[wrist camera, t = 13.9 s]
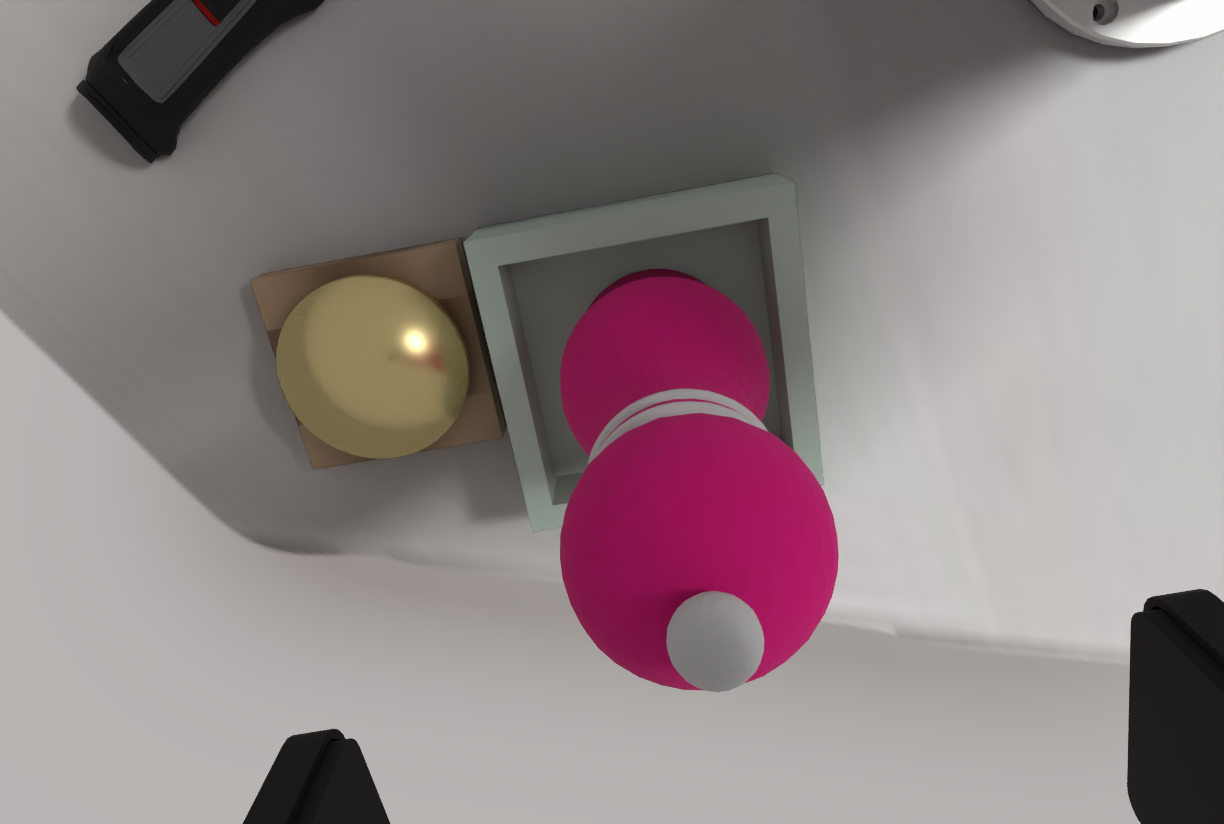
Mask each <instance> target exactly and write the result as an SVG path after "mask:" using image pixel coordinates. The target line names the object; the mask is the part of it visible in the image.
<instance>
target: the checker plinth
mask: <svg viewBox="0 0 1224 824" xmlns="http://www.w3.org/2000/svg"><path fill="white" fill-rule="evenodd" d="M361 273H377V274H384V275H390V276H393V277H397V278H401V279H403V280H406V281H408V282H411V283H413V284H415V285H417V286H418V287H420V288H422V289H424V290H425V291H427V292H428V293H429V294H431V295H432V296H433V297H435V298H436V299H437V300H438V301H439V302H440V303H441V304H442V305H443V306H444V307H445V308H446V309H447V310H448V312H449V313H450V314H451V315H452V316H453V318H454V319H455V321H456V323H457V324H458V326H459V328H460V330H461V332H462V334H463V336H464V338H465V341H466V344H467V348H468V352H469V357H470V368H471V375H470V385H469V389H468V393H467V396H466V399H465V401H464V404H463V406H462V408H461V410H460V412H459V414H458V416H457V418H456V419H455V421H454V423H453V424H452V425H451V426H450V428H449V429H448V430H447V431H446V432H445V433H444V434H443V435H442V436H441V437H440V438H439V439H438V440H436V441H435V442H434V443H432V444H431V445H429V446H428V447H426V448H424V449H422V450H420V451H418V452H422V451H428V450H433V449H439V448H445V447H451V446H457V445H463V444H469V443H475V442H481V441H487V440H493V439H499V438H503V435H504V432H505V428H506V425H505V421H504V417H503V413H502V408H501V404H500V400H499V396H498V392H497V388H496V383H495V379H494V375H493V371H492V367H491V363H490V358H489V354H488V350H487V346H486V342H485V338H484V333H483V329H482V325H481V321H480V317H479V313H478V308H477V304H476V300H475V296H474V292H473V288H472V283H471V279H470V275H469V271H468V267H467V263H466V259H465V254H464V250H463V246H462V242H461V238H457V239H452V240H446V241H441V242H435V243H430V244H424V245H419V246H413V247H408V248H402V249H397V250H391V251H386V252H380V253H375V254H369V255H364V256H358V257H353V258H348V259H342V260H337V261H331V262H326V263H320V264H315V265H309V266H304V267H298V268H293V269H287V270H282V271H276V272H271V273H265V274H261V275H259V276H257V277H255V278H253V279H252V280H250V283H251V286H252V289H253V292H254V295H255V298H256V301H257V304H258V307H259V310H260V313H261V316H262V319H263V322H264V325H265V328H266V331H267V334H268V337H269V340H270V343H271V346H272V349H273V352H274V354H275V357H276V352H277V345H278V340H279V336H280V333H281V330H282V328H283V326H284V324H285V321H286V319H287V318H288V316H289V315H290V313H291V312H292V310H293V309H294V308H295V307H296V306H297V305H298V304H299V302H300V301H301V300H303V299H304V298H305V297H306V296H308V295H309V294H310V293H311V292H313V291H314V290H316V289H317V288H319V287H321V286H322V285H324V284H326V283H328V282H330V281H332V280H335V279H337V278H340V277H344V276H348V275H352V274H361ZM295 417H296V420H297V423H298V426H299V429H300V432H301V435H302V438H303V441H304V444H305V447H306V450H307V453H308V456H309V459H310V462H311V465H312V468H313V470H314V469H320V468H326V467H332V466H338V465H344V464H350V463H356V462H362V461H368V460H374V459H376V458H366V457H360V456H356V455H352V454H349V453H346V452H344V451H341V450H338V449H336V448H335V447H333V446H331V445H329V444H327V443H325V442H324V441H322V440H321V439H319V438H318V437H317V436H315V435H314V434H313V433H312V432H311V431H309V430H308V429H307V428H306V427H305V426H304V425H303V424H302V422H301V421H300V420H299V419H298V418H297V416H296V415H295ZM415 453H416V452H415Z"/></svg>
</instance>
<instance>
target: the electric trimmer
mask: <svg viewBox="0 0 1224 824" xmlns="http://www.w3.org/2000/svg"><path fill="white" fill-rule="evenodd" d="M323 1H324V0H152V1H151V2H150V3H148V4H147V5H146V6H145V7H144V8H143V9H142V10H141V11H140V12H139V13H138V14H137V15H136V16H135V17H133V18H132V19H131V20H130V21H129V22H128V23H127V24H126V25H125V26H124V27H123V28H122V29H121V30H120V31H119V32H118V33H117V34H116V35H115V36H114V37H113V38H112V39H111V40H110V41H109V42H108V43H107V44H106V45H105V46H104V47H103V48H102V49H101V50H99V51H98V52H97V53H96V54H94V55H93V56H92V57H91V59H90V61H89V65H88V70H87V76H86V81H85V80H83V81H82V82H81V83H80V84H79V85H78V86H77V87H76V88H77V90H78V91H79V92H80V93H81V94H82V95H83V96H84V97H85V98H86V99H87V100H88V101H89V102H90V103H91V104H92V105H93V106H94V107H95V108H96V109H97V110H98V111H99V112H100V113H101V114H102V115H103V116H104V117H105V118H106V119H107V120H108V121H109V122H110V124H111V125H112V126H113V127H114V128H115V129H116V130H117V131H118V132H119V133H120V134H121V135H122V136H123V137H124V138H125V139H126V140H127V142H128V143H129V144H130V145H131V146H132V147H133V148H134V150H135V151H136V152H138V153H139V154H140V155H141V156H142V157H143V158H144V159H145V160H147V161H148V162H150V163H152V162H153V161H154V160H155V159H156V158H158V157H159V156H158V155H157V154H159V155H171V154H172V152H173V151H174V150H175V149H176V144H177V136H178V132H179V128H180V126H181V125H182V123H183V122H184V121H185V119H186V118H187V117H188V116H189V115H190V114H191V113H192V112H193V110H194V109H195V108H196V107H197V106H198V105H199V104H200V102H201V101H202V100H203V99H204V98H205V97H206V96H207V95H208V93H209V92H210V91H211V90H212V89H213V88H214V87H215V86H216V85H217V84H218V83H219V82H220V81H221V80H222V79H223V78H224V77H225V76H226V75H227V74H228V73H229V71H230V70H231V69H232V68H233V67H234V66H235V65H236V64H237V63H238V62H239V61H240V60H241V59H242V58H243V57H244V56H245V55H246V54H247V53H248V52H249V51H251V50H252V49H253V48H254V47H255V46H256V45H258V44H259V43H260V42H261V41H262V40H263V39H264V38H266V37H267V36H268V35H269V34H270V33H271V32H273V31H274V30H275V29H276V28H277V27H278V26H279V25H281V24H283V23H285V22H286V21H288V20H290V19H292V18H294V17H296V16H299V15H301V14H304V13H307V12H310V11H313V10H314V9H316V8H317V7H318V6H319V5H320V4H321V3H322V2H323ZM129 126H130V127H131V128H130V127H129Z"/></svg>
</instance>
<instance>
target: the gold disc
mask: <svg viewBox="0 0 1224 824" xmlns="http://www.w3.org/2000/svg"><path fill="white" fill-rule="evenodd" d="M276 366H277V374H278V379H279V382H280V386H281V389H282V392H283V394H284V396H285V399H286V401H287V402H288V404H289V406H290V408H291V410H292V411H293V412H294V414H295V415H296V416H297V418H298V419H299V420H300V421H301V422H302V424H303V425H304V426H305V427H306V428H307V429H308V430H309V431H311V432H312V433H313V434H314V435H315V436H317V437H318V438H319V439H321V440H322V441H324V442H325V443H327V444H329V445H331V446H333V447H335V448H336V449H338V450H341V451H344V452H346V453H349V454H352V455H356V456H360V457H366V458H376V459H387V458H397V457H401V456H406V455H410V454H412V453H415V452H418V451H420V450H422V449H424V448H426V447H428V446H429V445H431V444H432V443H434V442H435V441H436V440H438V439H439V438H440V437H441V436H442V435H443V434H444V433H445V432H446V431H447V430H448V429H449V428H450V426H451V425H452V424H453V423H454V421H455V419H456V418H457V416H458V414H459V412H460V410H461V408H462V406H463V404H464V401H465V399H466V396H467V393H468V389H469V385H470V375H471V368H470V357H469V352H468V348H467V344H466V341H465V338H464V336H463V334H462V332H461V330H460V328H459V326H458V324H457V323H456V321H455V319H454V318H453V316H452V315H451V314H450V313H449V312H448V310H447V309H446V308H445V307H444V306H443V305H442V304H441V303H440V302H439V301H438V300H437V299H436V298H435V297H433V296H432V295H431V294H429V293H428V292H427V291H425V290H424V289H422V288H420V287H418V286H417V285H415V284H413V283H411V282H408V281H406V280H403V279H401V278H397V277H393V276H390V275H384V274H377V273H361V274H352V275H348V276H344V277H340V278H337V279H335V280H332V281H330V282H328V283H326V284H324V285H322V286H321V287H319V288H317V289H316V290H314V291H313V292H311V293H310V294H309V295H308V296H306V297H305V298H304V299H303V300H301V301H300V302H299V304H298V305H297V306H296V307H295V308H294V309H293V310H292V312H291V313H290V315H289V316H288V318H287V319H286V321H285V324H284V326H283V328H282V330H281V333H280V336H279V340H278V345H277V352H276Z"/></svg>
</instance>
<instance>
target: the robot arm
mask: <svg viewBox="0 0 1224 824" xmlns="http://www.w3.org/2000/svg"><path fill="white" fill-rule="evenodd" d="M1031 1H1032V2H1033V3H1034V5H1035V6H1036V7H1037V8H1038V9H1039V10H1040V11H1041V12H1042V13H1043V14H1044V15H1045V16H1046V17H1048V18H1049V19H1051V20H1052V21H1054V22H1055V23H1057V24H1058V25H1060V26H1061V27H1063V28H1065V29H1066V30H1068V31H1069V32H1071V33H1072V34H1075V35H1078V36H1080V37H1083V38H1086V39H1089V40H1092V41H1094V42H1097V43H1100V44H1103V45H1111V46H1119V47H1127V48H1148V47H1166V46H1172V45H1177V44H1182V43H1188V42H1193V41H1198V40H1202V39H1205V38H1208V37H1210V36H1213V35H1215V34H1218V33H1221V32H1223V31H1224V0H1031ZM1094 6H1095V7H1096V8H1097V11H1098V14H1097V17H1096V18H1095V19H1093V14H1092V13H1093V9H1094ZM1128 733H1129V734H1128V777H1127V780H1128V781H1127V787H1128V795H1129V798H1130V802H1131V805H1132V808H1133V810H1134V812H1135V814H1136V816H1137V818H1138V820H1139V821H1140V823H1141V824H1224V602H1223V601H1221V600H1220V599H1219V598H1218V597H1217V596H1216V595H1214V594H1212V593H1211V592H1209V591H1208V590H1203V589H1197V590H1191V591H1185V592H1179V593H1173V594H1166V595H1160V596H1154V597H1151V598H1148V599H1147V601H1146V602H1145V604H1144V610H1143V612H1138V613H1135V614H1134V615H1133V617H1132V620H1131V641H1130V687H1129V732H1128ZM243 824H390V822H389V819H388V817H387V814H386V812H385V809H384V807H383V804H382V802H381V799H380V797H379V794H378V792H377V789H376V787H375V784H374V782H373V779H372V777H371V774H370V772H369V769H368V767H367V764H366V762H365V759H364V757H363V754H362V752H361V749H360V747H359V745H358V743H357V741H355V740H354V739H345V737H344V735H343V734H342V733H341V732H340V731H339V730H337V729H330V730H324V731H317V732H311V733H305V734H299V735H293V736H291V737H289V738H288V739H287V740H286V741H285V743H284V744H283V746H282V748H281V750H280V752H279V754H278V756H277V758H276V760H275V762H274V764H273V765H272V767H271V770H270V771H269V773H268V775H267V777H266V779H265V781H264V783H263V785H262V787H261V789H260V791H259V793H258V795H257V797H256V799H255V801H254V803H253V805H252V807H251V809H250V810H249V812H248V814H247V817H246V819H245V820H244V822H243Z"/></svg>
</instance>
